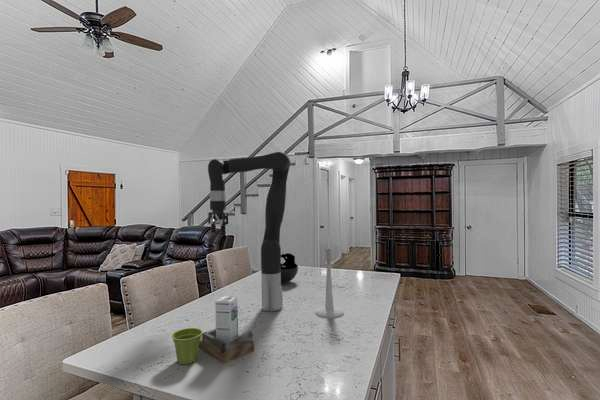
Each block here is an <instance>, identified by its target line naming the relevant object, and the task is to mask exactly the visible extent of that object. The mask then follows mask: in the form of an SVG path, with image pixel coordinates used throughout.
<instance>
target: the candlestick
mask: <svg viewBox="0 0 600 400" xmlns="http://www.w3.org/2000/svg"><path fill="white" fill-rule="evenodd" d="M325 250H326V252H325V253H326V262H324V264H325V268H326V282H325V283H326V284H325V305H324V306H320V307H318V308H317V309H316V310H315V311H314V313H315V316H318V317H320V318H324V319H337V318H341V317H342V316H344V310H343V309H341V308H340V307H339V306H338V307H337V306H335V305H334V298H333V284H332V283H333V282H332V270H331V268H332V267H333V266H332V264H333V262H332V256H331V255H332V254H331V253H332V251H331V247H327V248H326V249H325Z"/></svg>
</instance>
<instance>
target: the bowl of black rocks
mask: <svg viewBox="0 0 600 400" xmlns="http://www.w3.org/2000/svg"><path fill="white" fill-rule="evenodd" d="M295 257H296V256H295V255H294V254H292V253H281V259H284V261H285V262H283V263H281V284H286V283H290V282H291V281H292V280H293V279H294V278H295V277H296V276H297V273H298V270H299V266H298V264H297V263H296V258H295Z"/></svg>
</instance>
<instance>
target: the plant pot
mask: <svg viewBox="0 0 600 400" xmlns="http://www.w3.org/2000/svg"><path fill="white" fill-rule="evenodd" d="M202 333H203V330H202V329H201V328H197V327H187V328H182V329H178V330H177V331H174V332H173V333H172V334H171V339H172V340H173V343H174V348H175V356H176V362H177V363H178V364H179V365H189V364H191V363H195V362H196V361H197V360H198V358H199V356H198V355H199V350H200V349H199V342H200V338H201V335H202Z"/></svg>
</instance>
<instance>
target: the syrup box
mask: <svg viewBox="0 0 600 400" xmlns="http://www.w3.org/2000/svg"><path fill="white" fill-rule="evenodd" d="M214 307H215V309H214V310H215V313H214V314H215V329H216V338H218V339H220V340H222V341H226V340H229V339H231V338H234V337H237V336H238V334H239V316H238V315H239V314H238V309H239V308H238V297H237V296H228V295H227V296H225V295H224V296H222V297H221V298H219V299H217V300H216V301H215V302H214Z"/></svg>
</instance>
